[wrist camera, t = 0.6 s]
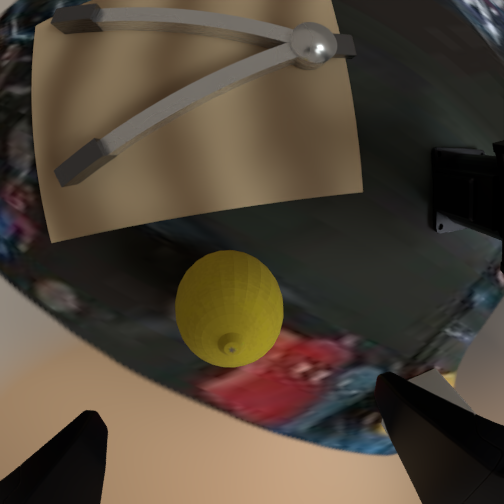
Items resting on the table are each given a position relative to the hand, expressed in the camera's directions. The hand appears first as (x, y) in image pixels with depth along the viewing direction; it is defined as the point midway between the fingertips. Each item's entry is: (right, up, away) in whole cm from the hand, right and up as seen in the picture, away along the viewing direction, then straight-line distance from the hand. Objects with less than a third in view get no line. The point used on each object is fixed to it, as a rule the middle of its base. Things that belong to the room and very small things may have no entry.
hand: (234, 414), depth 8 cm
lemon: (-1, +3, +11) cm, 12 cm away
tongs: (-2, +16, +6) cm, 17 cm away
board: (-4, +15, +7) cm, 17 cm away
